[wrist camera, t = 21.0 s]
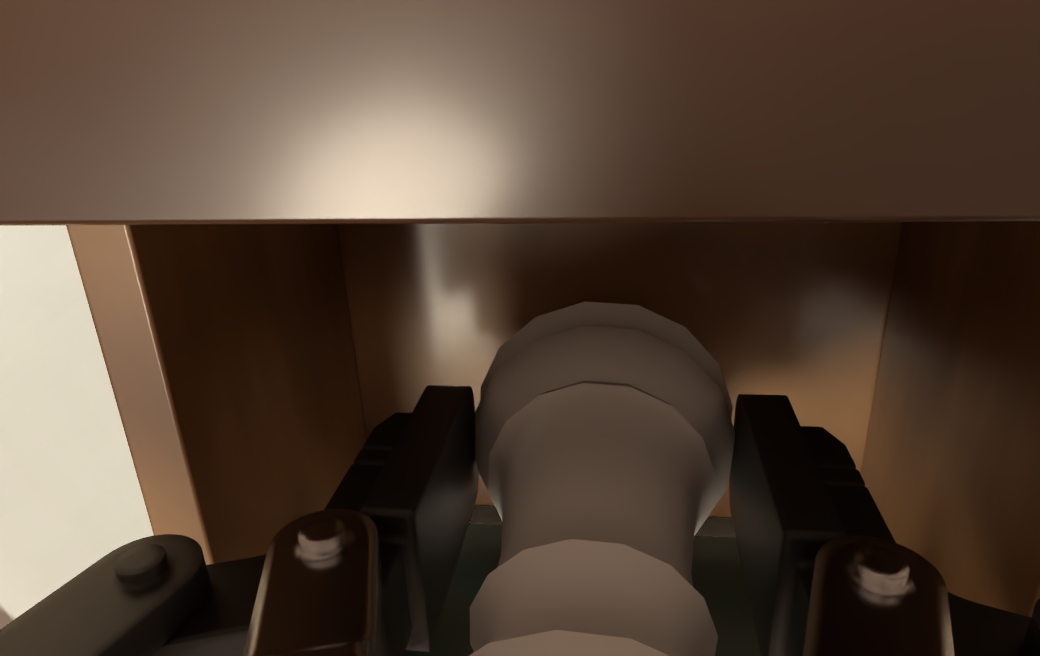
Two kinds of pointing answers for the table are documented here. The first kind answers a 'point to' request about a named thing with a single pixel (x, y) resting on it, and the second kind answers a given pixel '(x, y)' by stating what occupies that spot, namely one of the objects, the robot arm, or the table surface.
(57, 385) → the table surface
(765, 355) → the drawer
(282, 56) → the cabinet
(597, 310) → the rook chess piece
